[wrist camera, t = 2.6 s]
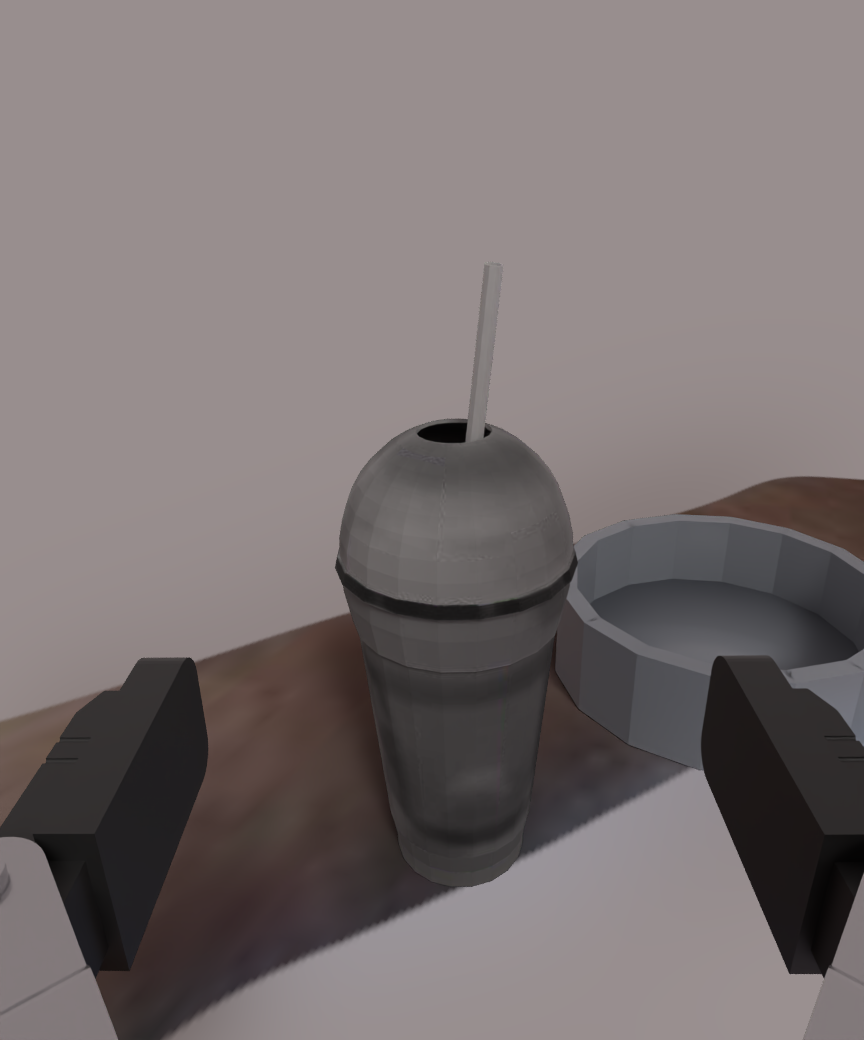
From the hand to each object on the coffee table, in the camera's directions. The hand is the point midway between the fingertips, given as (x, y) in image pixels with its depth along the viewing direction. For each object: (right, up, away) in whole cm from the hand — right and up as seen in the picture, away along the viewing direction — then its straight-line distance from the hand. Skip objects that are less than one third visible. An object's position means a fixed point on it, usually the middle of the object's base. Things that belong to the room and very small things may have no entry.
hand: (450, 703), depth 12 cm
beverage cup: (+1, -9, +17) cm, 19 cm away
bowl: (+13, -4, +25) cm, 29 cm away
